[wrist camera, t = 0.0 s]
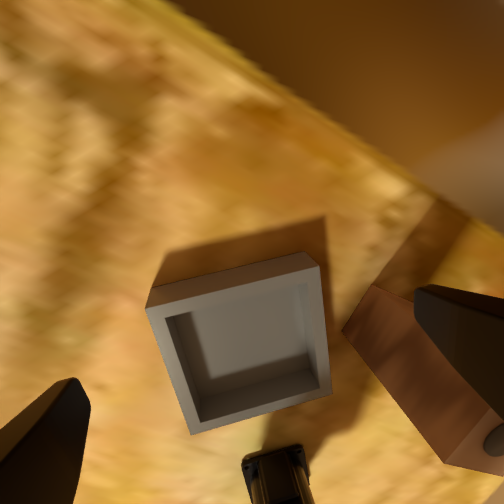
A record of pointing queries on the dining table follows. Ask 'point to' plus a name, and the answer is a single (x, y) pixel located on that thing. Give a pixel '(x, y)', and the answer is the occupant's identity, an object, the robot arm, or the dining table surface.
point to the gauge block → (426, 383)
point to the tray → (243, 340)
